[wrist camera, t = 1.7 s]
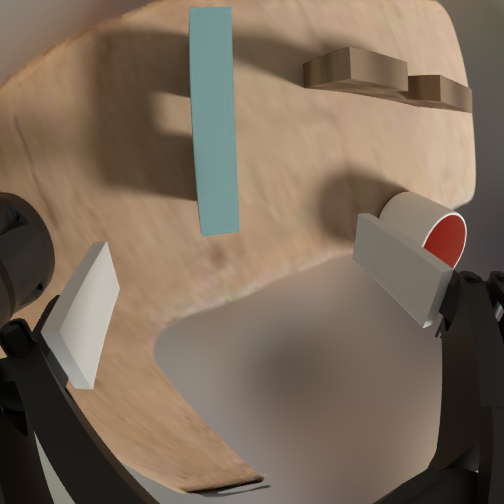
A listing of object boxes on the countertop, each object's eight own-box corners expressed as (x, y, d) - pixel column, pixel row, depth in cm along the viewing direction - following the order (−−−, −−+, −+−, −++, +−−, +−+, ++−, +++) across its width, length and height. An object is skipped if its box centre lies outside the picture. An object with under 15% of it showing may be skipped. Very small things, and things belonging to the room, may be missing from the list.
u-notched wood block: (304, 88, 27) (351, 78, 18) (303, 64, 26) (349, 46, 17) (418, 106, 30) (472, 113, 22) (418, 87, 29) (471, 89, 20)
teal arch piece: (224, 198, 31) (239, 231, 22) (197, 201, 31) (201, 236, 22) (217, 41, 23) (231, 6, 14) (188, 42, 22) (189, 8, 14)
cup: (368, 201, 35) (417, 229, 27) (419, 181, 36) (468, 202, 27) (376, 261, 40) (416, 296, 31) (422, 237, 40) (463, 265, 32)
